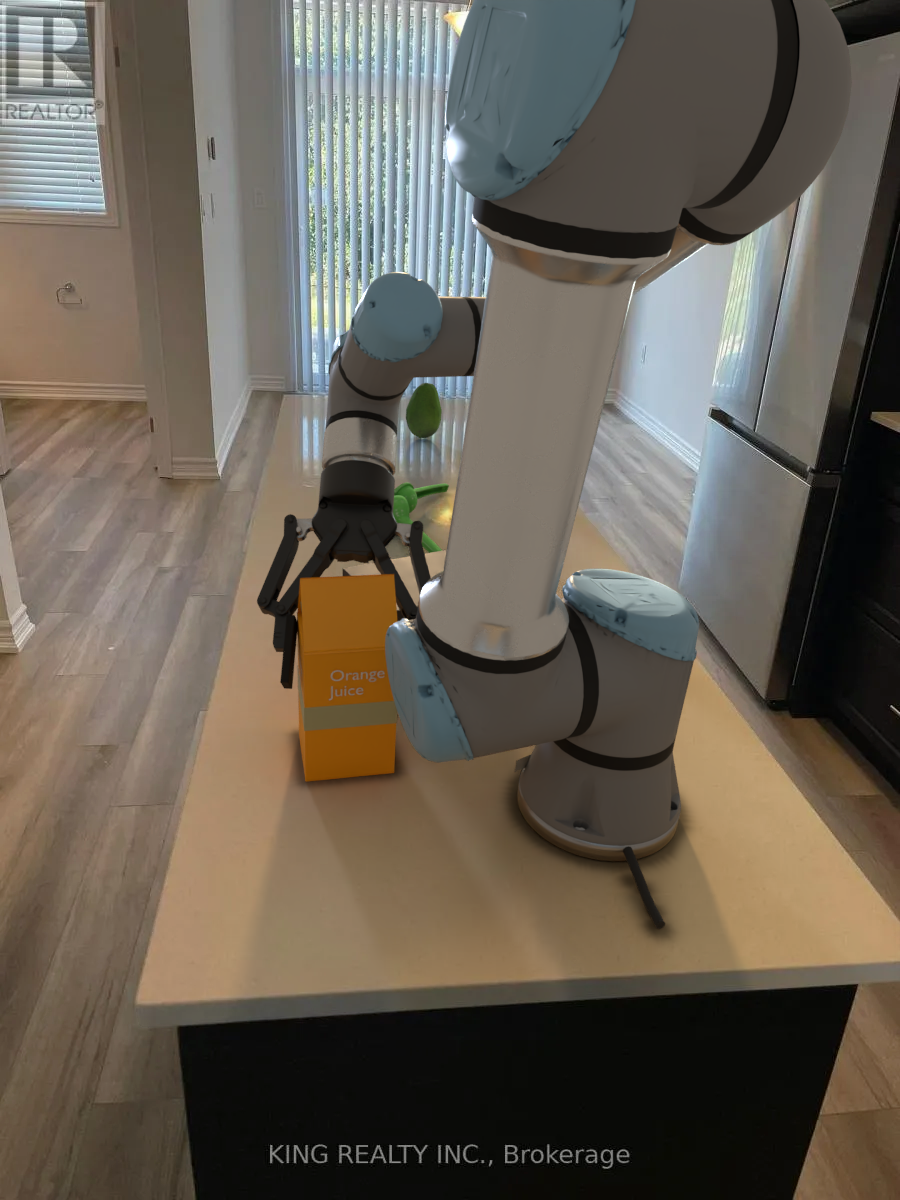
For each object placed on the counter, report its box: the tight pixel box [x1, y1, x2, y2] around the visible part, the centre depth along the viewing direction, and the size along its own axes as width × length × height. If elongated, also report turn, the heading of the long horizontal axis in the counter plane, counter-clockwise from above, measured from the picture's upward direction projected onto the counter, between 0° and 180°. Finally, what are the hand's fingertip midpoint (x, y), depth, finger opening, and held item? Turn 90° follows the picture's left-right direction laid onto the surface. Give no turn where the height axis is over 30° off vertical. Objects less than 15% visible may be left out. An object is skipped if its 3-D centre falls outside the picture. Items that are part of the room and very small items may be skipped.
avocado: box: [405, 382, 443, 439], centre depth 188 cm, size 8×8×12 cm
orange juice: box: [296, 574, 398, 782], centre depth 83 cm, size 8×9×20 cm
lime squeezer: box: [393, 481, 450, 553], centre depth 143 cm, size 34×12×6 cm, turn 1°
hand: (343, 687), depth 81 cm, fingers closed on orange juice, 10 cm apart
